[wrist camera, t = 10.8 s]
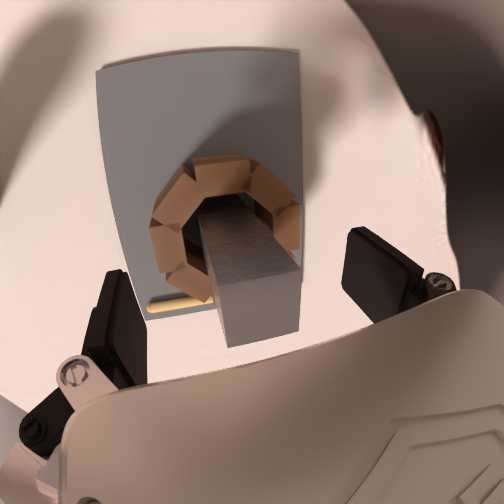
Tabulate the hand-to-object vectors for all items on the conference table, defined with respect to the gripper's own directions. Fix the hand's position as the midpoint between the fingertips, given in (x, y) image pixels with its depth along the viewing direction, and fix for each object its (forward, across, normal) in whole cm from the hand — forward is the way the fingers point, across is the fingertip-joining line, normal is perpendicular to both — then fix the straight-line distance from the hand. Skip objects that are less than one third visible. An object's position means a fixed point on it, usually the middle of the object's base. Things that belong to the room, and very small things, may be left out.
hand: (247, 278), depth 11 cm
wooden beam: (+10, 0, +1) cm, 10 cm away
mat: (+10, 0, -1) cm, 10 cm away
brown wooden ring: (+10, 0, +1) cm, 10 cm away
